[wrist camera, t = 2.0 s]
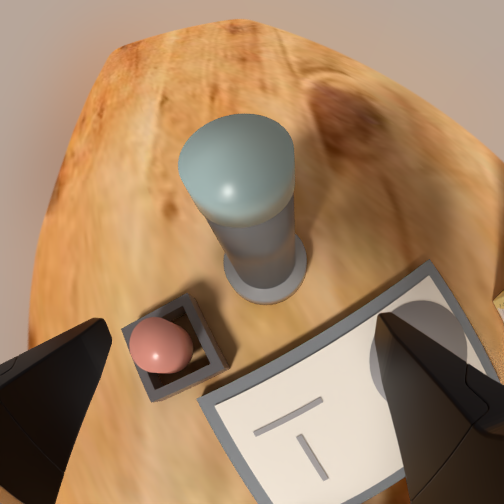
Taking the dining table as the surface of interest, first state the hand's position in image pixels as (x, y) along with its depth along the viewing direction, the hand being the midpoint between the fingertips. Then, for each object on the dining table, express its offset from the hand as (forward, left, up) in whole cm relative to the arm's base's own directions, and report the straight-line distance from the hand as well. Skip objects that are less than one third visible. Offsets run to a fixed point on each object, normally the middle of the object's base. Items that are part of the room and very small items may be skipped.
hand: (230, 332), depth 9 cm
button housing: (-6, +3, -13) cm, 14 cm away
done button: (-6, +3, -11) cm, 13 cm away
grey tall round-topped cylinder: (+3, +6, -13) cm, 14 cm away
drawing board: (+4, -7, -13) cm, 15 cm away
